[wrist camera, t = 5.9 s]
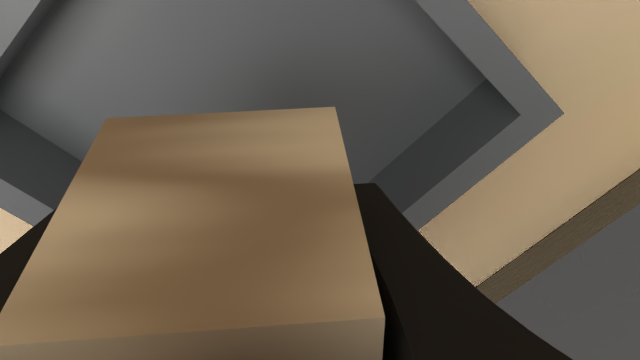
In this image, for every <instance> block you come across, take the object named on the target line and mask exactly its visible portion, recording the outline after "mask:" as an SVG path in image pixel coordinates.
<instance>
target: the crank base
mask: <svg viewBox="0 0 640 360" xmlns="http://www.w3.org/2000/svg"><path fill="white" fill-rule="evenodd" d="M476 288H477V289H478V290H479V291H480V292H481V293H483V294H484V295H485V296H486V297H487V298H488V299H490V300H491V301H492V302H493V303H495V304H496V305H497V306H498V307H500V308H501V309H502V310H504V311H505V312H506V313H508V314H509V315H510V316H512V317H513V318H514V319H516V320H517V321H518V322H519V323H521V324H522V325H523V326H525V327H526V328H527V329H529V330H530V331H531V332H533V333H534V334H536V335H537V336H539V337H540V338H541V339H543V340H544V341H546V342H547V343H549V344H550V345H551V346H553V347H554V348H556V349H557V350H559V351H561V352H562V353H564V354H565V355H567V356H568V357H570V358H571V359H573V360H640V170H639V171H637V172H636V173H634V174H633V175H632V176H630V177H629V178H627V179H626V180H625V181H623V182H622V183H620V184H619V185H618V186H616V187H615V188H614V189H612V190H611V191H609V192H608V193H607V194H605V195H604V196H602V197H601V198H600V199H598V200H597V201H596V202H594V203H593V204H591V205H590V206H589V207H587V208H586V209H584V210H583V211H582V212H580V213H579V214H577V215H576V216H575V217H573V218H572V219H571V220H569V221H568V222H566V223H565V224H564V225H562V226H561V227H559V228H558V229H557V230H555V231H554V232H553V233H551V234H550V235H548V236H547V237H546V238H544V239H543V240H541V241H540V242H539V243H537V244H536V245H534V246H533V247H532V248H530V249H529V250H528V251H526V252H525V253H523V254H522V255H521V256H519V257H518V258H516V259H515V260H514V261H512V262H511V263H510V264H508V265H507V266H505V267H504V268H503V269H501V270H500V271H498V272H497V273H496V274H494V275H493V276H491V277H490V278H489V279H487V280H486V281H485V282H483V283H482V284H480V285H479V286H478V287H476Z"/></svg>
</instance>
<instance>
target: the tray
mask: <svg viewBox="0 0 640 360" xmlns="http://www.w3.org/2000/svg"><path fill="white" fill-rule="evenodd" d="M320 107H335V109H336V113H337V117H338V122H339V126H340V130H341V134H342V138H343V142H344V147H345V151H346V155H347V159H348V163H349V168H350V172H351V176H352V180H353V184H362V183H376V184H377V185H378V186H379V187H380V188H381V189H382V191H383V192H384V193H385V194H386V195H387V197H388V198H389V199H390V200H391V201H392V203H393V204H394V205H395V206H396V207H397V208H398V210H399V211H400V212H401V213H402V214H403V215H404V216H405V218H406V219H407V220H408V221H409V222H410V223H411V224H412V225H413V227H414V228H415V229H416V230H417V231H418V230H419V229H420V228H421V227H423V226H424V225H425V224H426V223H428V222H429V221H430V220H431V219H433V218H434V217H435V216H436V215H438V214H439V213H440V212H441V211H443V210H444V209H445V208H446V207H448V206H449V205H450V204H451V203H453V202H454V201H455V200H456V199H458V198H459V197H460V196H461V195H463V194H464V193H465V192H466V191H468V190H469V189H470V188H471V187H473V186H474V185H475V184H476V183H478V182H479V181H480V180H481V179H483V178H484V177H485V176H486V175H488V174H489V173H490V172H491V171H493V170H494V169H495V168H496V167H498V166H499V165H500V164H501V163H503V162H504V161H505V160H506V159H508V158H509V157H510V156H511V155H513V154H514V153H515V152H516V151H518V150H519V149H520V148H521V147H523V146H524V145H525V144H526V143H528V142H529V141H530V140H531V139H533V138H534V137H535V136H536V135H538V134H539V133H540V132H541V131H543V130H544V129H545V128H546V127H548V126H549V125H550V124H551V123H553V122H554V121H555V120H556V119H558V118H559V117H560V116H561V115H563V114H564V112H563V111H562V110H561V109H560V108H559V107H558V105H557V104H556V103H555V102H554V101H553V100H552V99H551V97H550V96H549V95H548V94H547V93H546V92H545V90H544V89H543V88H542V87H541V86H540V85H539V83H538V82H537V81H536V80H535V79H534V78H533V76H532V75H531V74H530V73H529V72H528V71H527V70H526V68H525V67H524V66H523V65H522V64H521V63H520V61H519V60H518V59H517V58H516V57H515V56H514V54H513V53H512V52H511V51H510V50H509V49H508V47H507V46H506V45H505V44H504V43H503V42H502V41H501V39H500V38H499V37H498V36H497V35H496V34H495V32H494V31H493V30H492V29H491V28H490V27H489V25H488V24H487V23H486V22H485V21H484V20H483V19H482V17H481V16H480V15H479V14H478V13H477V12H476V10H475V9H474V8H473V7H472V6H471V5H470V3H469V2H468V1H467V0H0V208H2V209H4V210H5V211H7V212H9V213H11V214H13V215H14V216H16V217H18V218H20V219H22V220H23V221H25V222H27V223H29V224H30V225H32V226H35V225H36V224H37V223H39V222H40V221H41V220H42V219H44V218H45V217H46V216H47V215H49V214H50V213H51V212H52V211H54V210H55V209H56V208H57V207H58V206H59V204H60V202H61V200H62V199H63V197H64V195H65V193H66V191H67V189H68V187H69V186H70V184H71V182H72V180H73V178H74V176H75V175H76V173H77V171H78V169H79V167H80V165H81V164H82V162H83V160H84V158H85V156H86V154H87V153H88V151H89V149H90V147H91V145H92V143H93V141H94V140H95V138H96V136H97V134H98V132H99V130H100V129H101V127H102V125H103V123H104V121H105V119H106V118H120V117H140V116H160V115H180V114H200V113H220V112H240V111H260V110H280V109H300V108H320Z"/></svg>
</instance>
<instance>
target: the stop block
mask: <svg viewBox="0 0 640 360" xmlns="http://www.w3.org/2000/svg"><path fill="white" fill-rule="evenodd" d="M384 328H385V315H384V310H383V306H382V302H381V298H380V294H379V289H378V285H377V281H376V277H375V273H374V268H373V264H372V260H371V256H370V252H369V247H368V243H367V239H366V235H365V231H364V226H363V222H362V218H361V214H360V210H359V205H358V201H357V197H356V193H355V189H354V184H353V180H352V176H351V172H350V168H349V163H348V159H347V155H346V151H345V147H344V142H343V138H342V134H341V130H340V126H339V122H338V117H337V113H336V109H335V107H320V108H300V109H280V110H260V111H240V112H220V113H200V114H180V115H160V116H140V117H120V118H106V119H105V121H104V123H103V125H102V127H101V129H100V130H99V132H98V134H97V136H96V138H95V140H94V141H93V143H92V145H91V147H90V149H89V151H88V153H87V154H86V156H85V158H84V160H83V162H82V164H81V165H80V167H79V169H78V171H77V173H76V175H75V176H74V178H73V180H72V182H71V184H70V186H69V187H68V189H67V191H66V193H65V195H64V197H63V199H62V200H61V202H60V204H59V206H58V208H57V210H56V211H55V213H54V215H53V217H52V219H51V221H50V222H49V224H48V226H47V228H46V230H45V232H44V233H43V235H42V237H41V239H40V241H39V243H38V245H37V246H36V248H35V250H34V252H33V254H32V256H31V257H30V259H29V261H28V263H27V265H26V267H25V268H24V270H23V272H22V274H21V276H20V278H19V280H18V281H17V283H16V285H15V287H14V289H13V291H12V292H11V294H10V296H9V298H8V300H7V302H6V303H5V305H4V307H3V309H2V311H1V313H0V360H382V358H383V343H384Z"/></svg>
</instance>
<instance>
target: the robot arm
mask: <svg viewBox="0 0 640 360" xmlns="http://www.w3.org/2000/svg"><path fill="white" fill-rule="evenodd" d="M354 189H355V193H356V197H357V201H358V205H359V210H360V214H361V218H362V222H363V226H364V231H365V235H366V239H367V243H368V247H369V252H370V256H371V260H372V264H373V268H374V273H375V277H376V281H377V285H378V289H379V294H380V298H381V302H382V306H383V310H384V315H385V328H384V343H383V358H382V360H573V359H571V358H570V357H568V356H567V355H565V354H564V353H562V352H561V351H559V350H557V349H556V348H554V347H553V346H551V345H550V344H549V343H547V342H546V341H544V340H543V339H541V338H540V337H539V336H537V335H536V334H534V333H533V332H531V331H530V330H529V329H527V328H526V327H525V326H523V325H522V324H521V323H519V322H518V321H517V320H516V319H514V318H513V317H512V316H510V315H509V314H508V313H506V312H505V311H504V310H502V309H501V308H500V307H498V306H497V305H496V304H495V303H493V302H492V301H491V300H490V299H488V298H487V297H486V296H485V295H484V294H483V293H481V292H480V291H479V290H478V289H477V288H476V287H475V286H473V285H472V284H471V283H470V282H469V281H468V280H467V279H466V278H465V277H464V276H462V275H461V274H460V273H459V272H458V271H457V270H456V269H455V268H454V267H453V266H452V265H451V264H450V263H449V262H448V261H446V260H445V259H444V258H443V257H442V256H441V255H440V254H439V253H438V251H437V250H436V249H435V248H434V247H433V246H432V245H431V244H430V243H429V242H428V241H427V240H426V239H425V238H424V237H423V236H422V235H421V234H420V233H419V232H418V231H417V230H416V229H415V228H414V227H413V225H412V224H411V223H410V222H409V221H408V220H407V219H406V218H405V216H404V215H403V214H402V213H401V212H400V211H399V210H398V208H397V207H396V206H395V205H394V204H393V203H392V201H391V200H390V199H389V198H388V197H387V195H386V194H385V193H384V192H383V191H382V189H381V188H380V187H379V186H378V185H377V184H376V183H362V184H354ZM57 208H58V207H57ZM57 208H56V209H55V210H54V211H52V212H51V213H50V214H49V215H47V216H46V217H45V218H44V219H42V220H41V221H40V222H39V223H37V224H36V225H35V226H34V227H33V228H31V229H30V230H29V231H28V232H26V233H25V234H24V235H23V236H22V237H20V238H19V239H18V240H17V241H16V242H14V243H13V244H12V245H11V246H9V247H8V248H7V249H6V250H4V251H3V252H2V253H1V254H0V313H1V311H2V309H3V307H4V305H5V303H6V302H7V300H8V298H9V296H10V294H11V292H12V291H13V289H14V287H15V285H16V283H17V281H18V280H19V278H20V276H21V274H22V272H23V270H24V268H25V267H26V265H27V263H28V261H29V259H30V257H31V256H32V254H33V252H34V250H35V248H36V246H37V245H38V243H39V241H40V239H41V237H42V235H43V233H44V232H45V230H46V228H47V226H48V224H49V222H50V221H51V219H52V217H53V215H54V213H55V211H56V210H57Z"/></svg>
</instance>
